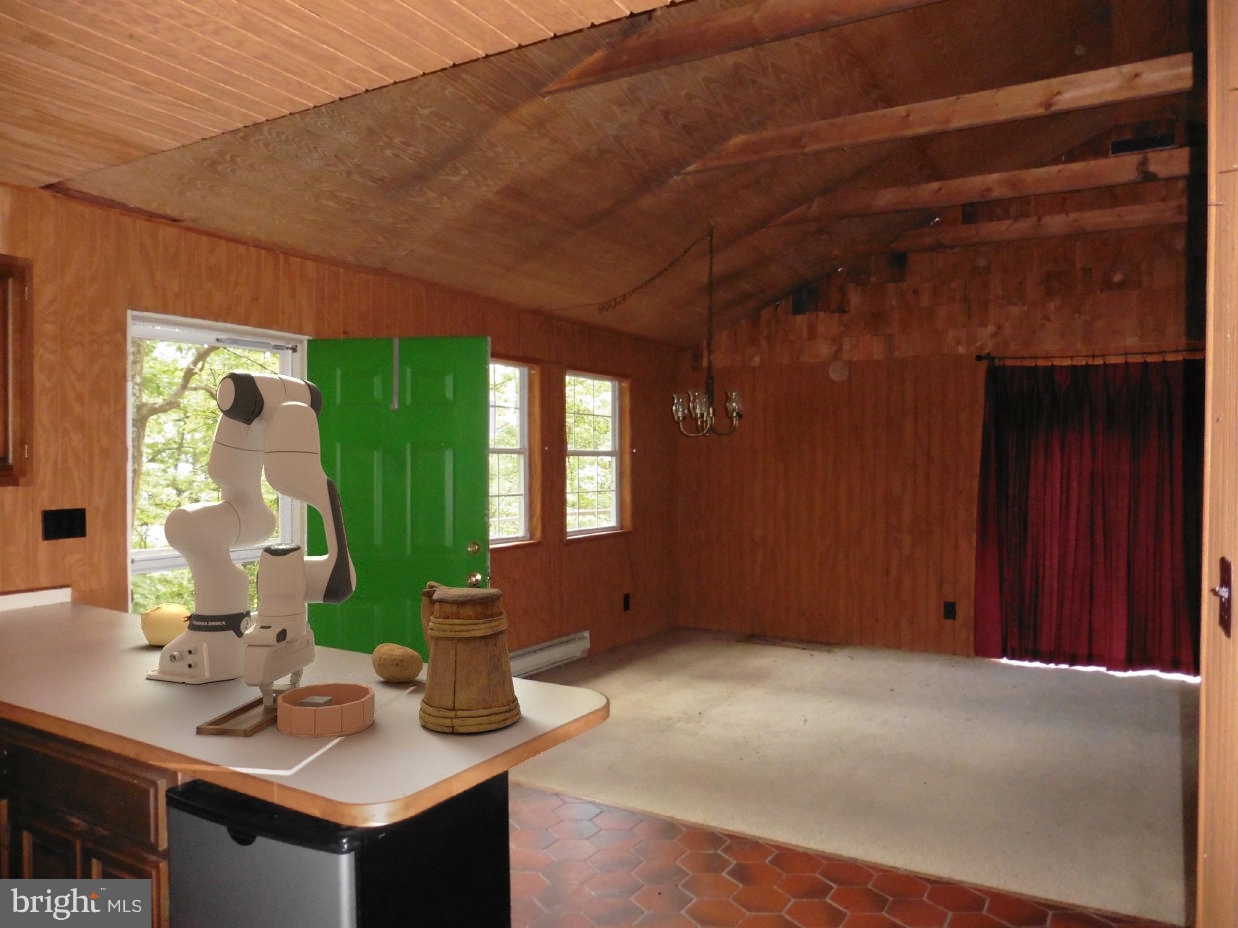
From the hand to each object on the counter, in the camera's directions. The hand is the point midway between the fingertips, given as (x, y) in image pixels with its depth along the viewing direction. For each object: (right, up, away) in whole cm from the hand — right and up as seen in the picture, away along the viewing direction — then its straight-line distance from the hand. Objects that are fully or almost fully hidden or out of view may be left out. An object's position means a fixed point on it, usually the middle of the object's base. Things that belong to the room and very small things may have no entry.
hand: (281, 697), depth 161 cm
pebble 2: (0, -1, 0) cm, 1 cm away
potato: (+18, -2, +19) cm, 26 cm away
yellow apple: (-52, -2, +55) cm, 76 cm away
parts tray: (-1, -2, -5) cm, 6 cm away
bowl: (+12, -2, -10) cm, 16 cm away
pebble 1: (+10, -1, -10) cm, 14 cm away
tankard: (+36, -2, -5) cm, 37 cm away
